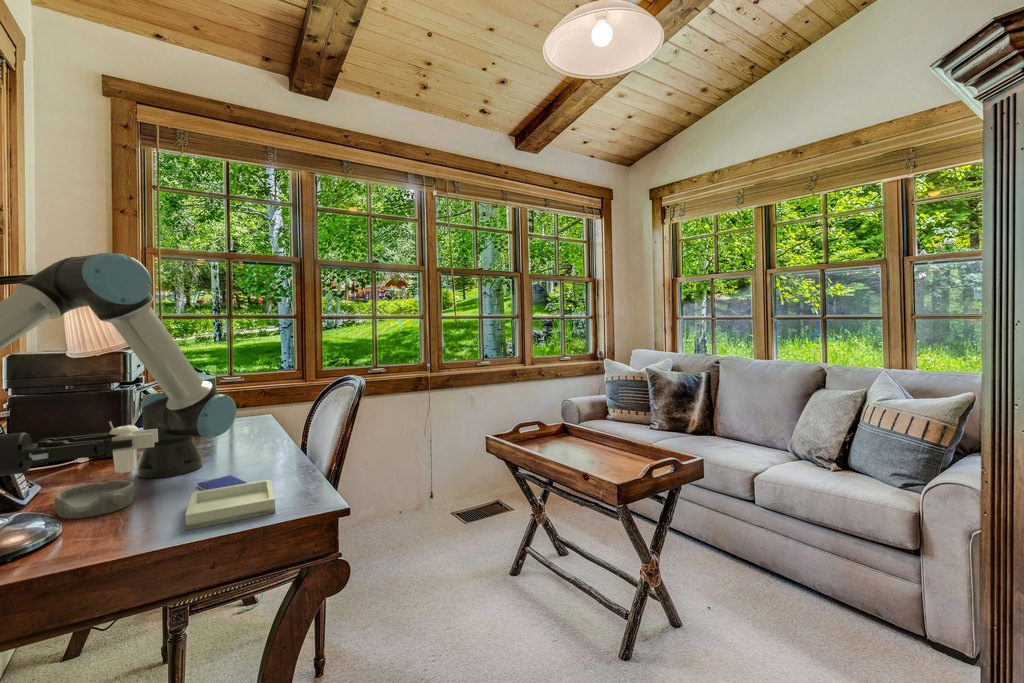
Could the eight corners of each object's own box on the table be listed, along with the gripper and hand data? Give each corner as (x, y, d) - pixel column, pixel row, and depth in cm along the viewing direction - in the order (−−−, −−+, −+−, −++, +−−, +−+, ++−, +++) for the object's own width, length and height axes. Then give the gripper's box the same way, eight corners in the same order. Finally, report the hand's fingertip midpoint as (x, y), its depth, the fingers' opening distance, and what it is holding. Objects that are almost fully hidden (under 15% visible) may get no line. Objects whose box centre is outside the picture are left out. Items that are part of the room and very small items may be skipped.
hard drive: (197, 482, 122) (214, 492, 114) (232, 474, 129) (251, 483, 121) (197, 488, 122) (215, 499, 114) (232, 480, 129) (251, 489, 121)
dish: (131, 511, 107) (130, 489, 107) (47, 527, 99) (45, 503, 99) (139, 493, 119) (138, 473, 119) (64, 506, 112) (63, 485, 111)
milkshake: (122, 467, 99) (120, 419, 99) (146, 467, 98) (143, 419, 98) (101, 474, 94) (99, 423, 94) (125, 474, 94) (123, 423, 94)
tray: (193, 505, 109) (192, 492, 109) (271, 491, 117) (270, 479, 117) (186, 530, 95) (185, 515, 95) (275, 512, 103) (274, 498, 103)
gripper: (18, 464, 95) (162, 446, 106) (-25, 489, 80) (149, 465, 91) (16, 427, 95) (161, 413, 106) (-28, 444, 80) (147, 426, 91)
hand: (155, 437), depth 99 cm, fingers closed on milkshake, 4 cm apart
